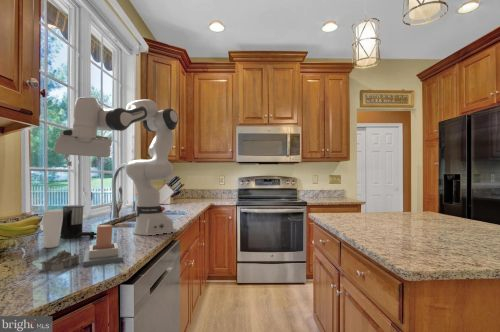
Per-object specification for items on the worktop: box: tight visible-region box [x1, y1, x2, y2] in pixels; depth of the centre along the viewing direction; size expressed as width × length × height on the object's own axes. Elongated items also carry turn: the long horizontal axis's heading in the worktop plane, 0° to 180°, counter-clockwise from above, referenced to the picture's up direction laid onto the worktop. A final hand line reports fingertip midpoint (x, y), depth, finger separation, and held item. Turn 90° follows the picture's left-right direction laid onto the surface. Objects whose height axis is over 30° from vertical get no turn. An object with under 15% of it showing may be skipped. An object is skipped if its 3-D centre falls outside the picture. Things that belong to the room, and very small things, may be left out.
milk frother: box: [60, 204, 97, 239], centre depth 130 cm, size 14×16×15 cm
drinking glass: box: [42, 209, 63, 249], centre depth 112 cm, size 7×7×15 cm
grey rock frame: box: [38, 249, 82, 272], centre depth 90 cm, size 11×8×4 cm
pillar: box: [95, 224, 113, 250], centre depth 99 cm, size 5×5×10 cm
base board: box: [82, 242, 124, 267], centre depth 99 cm, size 12×16×4 cm
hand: (82, 166), depth 114 cm, fingers open, 8 cm apart
